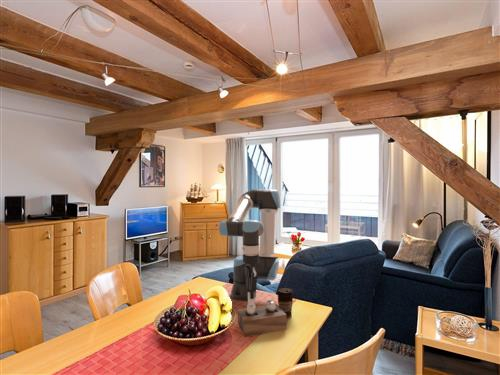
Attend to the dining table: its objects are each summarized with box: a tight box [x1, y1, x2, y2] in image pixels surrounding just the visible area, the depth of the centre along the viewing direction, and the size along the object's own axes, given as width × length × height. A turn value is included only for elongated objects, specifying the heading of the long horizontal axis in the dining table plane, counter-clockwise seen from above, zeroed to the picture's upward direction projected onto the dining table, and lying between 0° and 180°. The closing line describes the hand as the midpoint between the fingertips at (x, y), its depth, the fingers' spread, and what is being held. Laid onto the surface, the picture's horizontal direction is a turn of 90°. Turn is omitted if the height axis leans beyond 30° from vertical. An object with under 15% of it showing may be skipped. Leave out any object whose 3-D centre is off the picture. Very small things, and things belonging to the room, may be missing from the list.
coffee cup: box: [276, 287, 295, 319], centre depth 141 cm, size 9×8×13 cm
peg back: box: [266, 299, 277, 313], centre depth 131 cm, size 4×4×6 cm
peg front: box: [246, 303, 257, 317], centre depth 128 cm, size 4×4×6 cm
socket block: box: [237, 303, 288, 338], centre depth 130 cm, size 12×20×7 cm, turn 107°
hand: (251, 304), depth 128 cm, fingers closed
